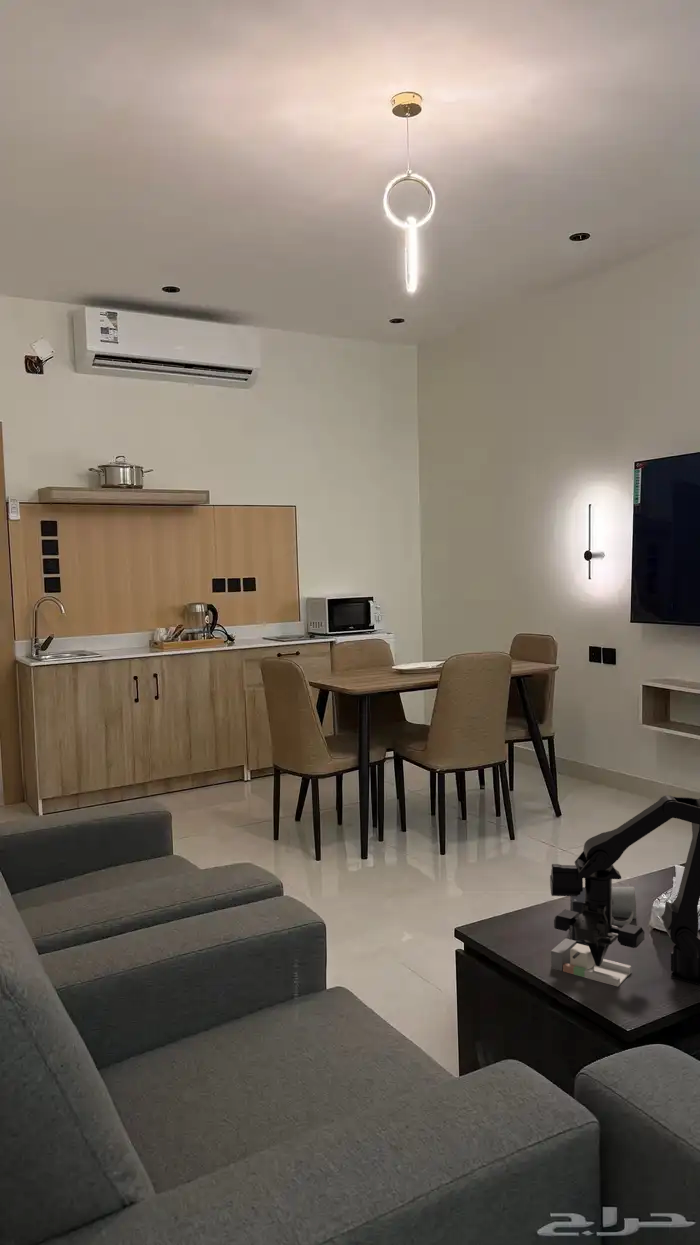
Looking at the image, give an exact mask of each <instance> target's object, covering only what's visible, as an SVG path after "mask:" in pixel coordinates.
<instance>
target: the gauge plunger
mask: <svg viewBox="0 0 700 1245" xmlns="http://www.w3.org/2000/svg"><path fill="white" fill-rule="evenodd" d="M570 964H571V965H575V966H579V967H582V968H586V969H591V968H592V967H593V966H594V959H593V956H592V953H591V951H590V948H589V946H588V945H587V944H578V943H577V944H576V945H575V946H574V947H573V948H571V949H570Z"/></svg>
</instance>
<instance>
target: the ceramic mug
mask: <svg viewBox="0 0 700 1245" xmlns="http://www.w3.org/2000/svg"><path fill="white" fill-rule="evenodd" d="M636 897H637V896H636V889H635V887H634V886H612V899H614V904H613V905H612V917H615V918H623V919H625V920H617V919H615V918H614V922H613V923H612V925H614V926H617V927H618V926H619V927H621V926H622V927H623V926H624V925H625V924H630V925H631V923H632V922H633V919H634V920H635V919H637V899H636Z"/></svg>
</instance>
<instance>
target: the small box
mask: <svg viewBox="0 0 700 1245" xmlns="http://www.w3.org/2000/svg"><path fill="white" fill-rule="evenodd" d="M569 897H570V903H569V904H570V911H574V912H579V914H581V912H582V906H583V902H585V886H583V891H582V892H580V895H578V896H577V897H572V896H569ZM569 931H570V940H574V941H576V944H577V943H578V944H582V945H588V944H587V942H586V941H585V940H583V939H581V940H580V939H577V938H576V934H575V928H574V926H571V925H570V929H569Z"/></svg>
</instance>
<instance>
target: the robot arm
mask: <svg viewBox="0 0 700 1245" xmlns="http://www.w3.org/2000/svg"><path fill="white" fill-rule="evenodd" d="M671 819H677V820H678V819H679V820H682V821H686V822H689V823H691V831H692V832H691V833H692V836H691V841H690V845H689V849H688V852H687V853H688V854H687V857H686V860H685V866H684V868H683V873H682V876H681V880H680V884H679V888H678V892H677V895H676V898H675V899H674V901H673V902H669V901H665V904H664V911H663V914H662V915H661V916H660V918H661V920H662V922H663V927H664V929H665V931H666V933H667V935H668V937H669V938H670V940H671V942H672V943H673V944H674V945H673V947H672V948H673V950H672V951H671V953H670V971H671V973H670V978H672V979H677V980H679V981H684V982H688V983H691V984H694V983H697V984H696V985H698V984H700V932H699V925H700V924H699V922H700V921H699V912H698V910H699V909H698V908H699V903H700V798H695V797H694V798H693V797H689V796H688V797H684V796H672V795H668V794H667V795H663V796H662V797H660V798H659V800H657V801H656V802H654V803H653V804H651V805H650V806H649V807H647V808H645V809H644V810H642V811H641V812H639V813H637V814H636V815H635V816H633V817H632V818H631V819H629V820H627V821H626V822H624V823H623V824H621V825H620V826H618V827H617V828H615V829H612V830H609V831H605V832H601V833H598V834H596V835H594V836H592V837H590V838H588V839H587V840H586V841H585V842H584V845H583V851H581V853H580V854H579V856H578V857H577V858H576V859H575V861H574V865H573V864H572V865H571V864H569V865H568V864H559V863H552V864H551V869H550V875H549V886H550V887H549V888H550V895H551V897H570V896H572V897H577V896H578V895H580V892H582V891H583V887H585V902H583V906H582V912H581V914H579V912H574V911H570V910H569V909H563V910H562V911H560V913H558V914H556V916H554V918H553V928H554V929H555V930H559V931H562V932H567V931H569V930H570V925H571V926H574V928H575V934H576V938H577V939H580V940H581V939H583V940H585V941H586V942H587V944H586V945H587V946H589V948H590V951H591V953H592V956H593V959H594V962H595V964H596V966H600V965H601V963H602V961H603V959H605V957H606V954H607V951H608V948H609V946H610V945H612V944H614V942H615V941H616V940H617V942H618V943H619V945H621V946H623V947H628V948H632V949H636V948H638V947H639V946H640V945H641V944H642V943H643V942H644V941H645V930H644V929H643V928H642V926H639V925H635V924H631V923H630V924H625V925H624V926H622V927H618V925H613V922H614V919H615V918H614V917H612V905H613V904H614V899H612V887H613V880H622V876H621V874H620V872H619V870H617V869H616V868H615V867H614V864H615V863H616V862H617V861H618V860H619V859H621V857H622V855H623V854H624V853H625V851H626V850H627V849H628V848H629V847H631V846H632V845H633V844H635V843H637V842H638V841H639V840H641V839H643V838H644V837H646V836H648V835H649V834H650V833H652V832H653V831H655V830H656V829H657V828H659V827H661V826H662V825H664V824H665V823H668V821H670V820H671ZM583 880H584V881H583Z"/></svg>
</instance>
